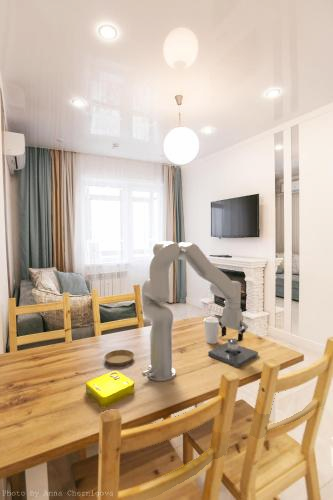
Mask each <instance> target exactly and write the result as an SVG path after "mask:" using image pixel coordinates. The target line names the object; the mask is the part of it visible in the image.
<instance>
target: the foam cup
mask: <svg viewBox="0 0 333 500" xmlns="http://www.w3.org/2000/svg"><path fill="white" fill-rule="evenodd" d="M203 326H204V327H203V328H204V334H205V340H206V343H207V344H211V345H212V344H214V345H215V344H217V343H218V340H219V332H220V325H219V322H218V317H213V316H212V317H211V316H208V317H204V319H203Z"/></svg>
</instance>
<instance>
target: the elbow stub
mask: <svg viewBox="0 0 333 500" xmlns="http://www.w3.org/2000/svg"><path fill="white" fill-rule="evenodd" d="M227 342H228V353H229V354H231V355H234V356H236V355H238V345H239V342H238V338H237V339H236V338H228V339H227Z"/></svg>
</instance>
